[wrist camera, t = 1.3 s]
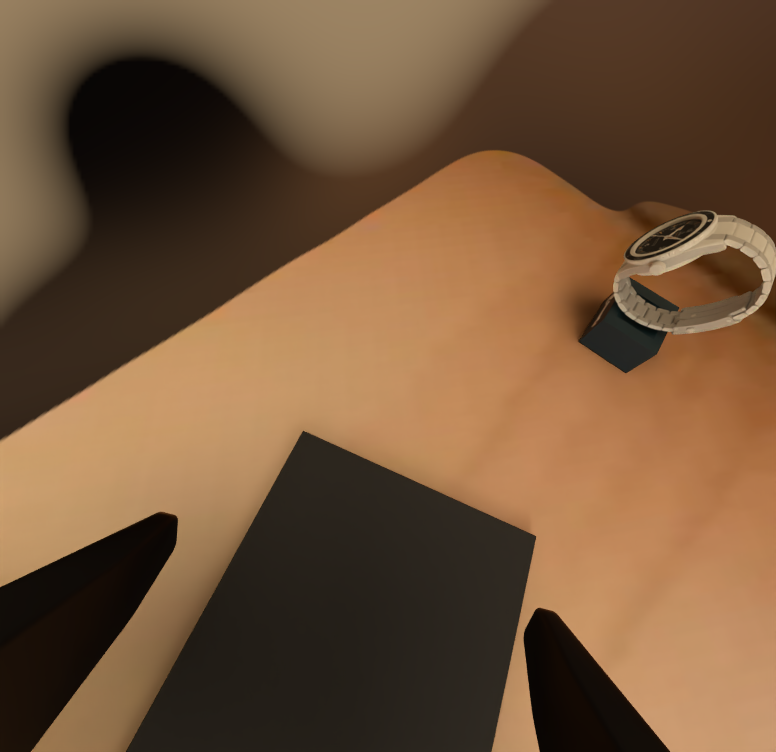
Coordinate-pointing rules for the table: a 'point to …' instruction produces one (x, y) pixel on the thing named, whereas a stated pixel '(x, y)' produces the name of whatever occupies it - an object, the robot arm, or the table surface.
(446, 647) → the desk mat
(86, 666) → the robot arm
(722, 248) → the watch
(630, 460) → the table surface
